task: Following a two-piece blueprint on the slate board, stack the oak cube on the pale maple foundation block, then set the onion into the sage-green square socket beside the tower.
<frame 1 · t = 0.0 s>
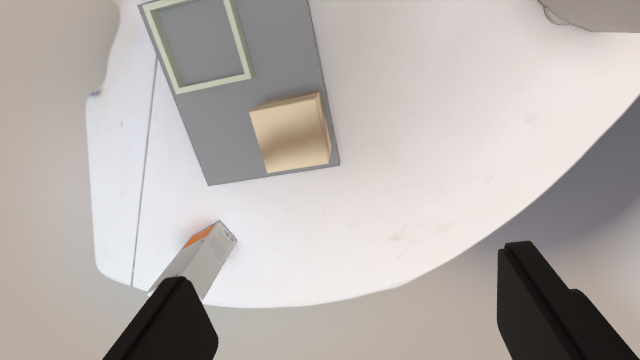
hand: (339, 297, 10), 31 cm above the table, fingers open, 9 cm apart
socket: (204, 42, 36), resting on board
skincare box: (214, 237, 49), on the table
board: (249, 89, 39), on the table
foundation: (297, 125, 39), resting on board
dispenser: (565, 1, 32), on the table
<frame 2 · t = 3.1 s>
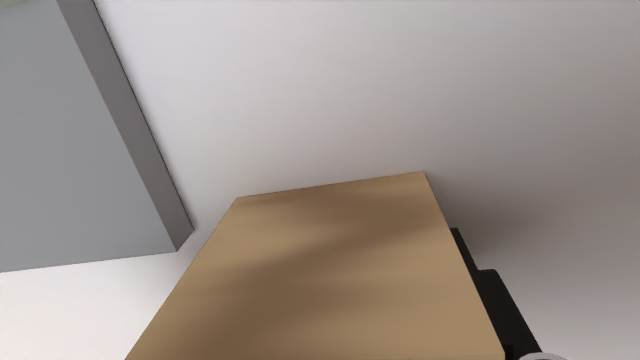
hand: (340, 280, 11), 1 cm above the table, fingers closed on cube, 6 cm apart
cube: (342, 260, 11), on the table, touching gripper
when the fingers open (8 cm above the table, at t = 7.5 s): cube drops 1 cm, resting on foundation.
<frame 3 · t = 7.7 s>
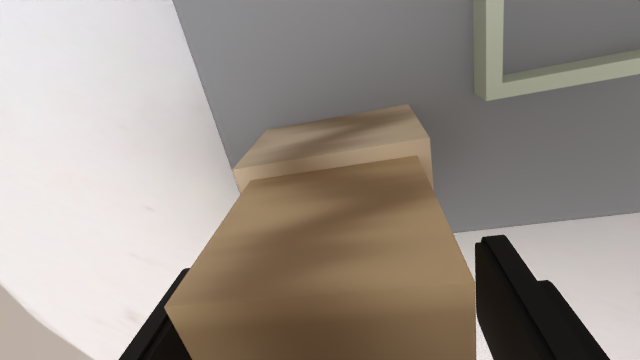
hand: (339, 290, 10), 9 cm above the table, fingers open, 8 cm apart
board: (434, 60, 15), on the table
foundation: (347, 181, 17), resting on board
cube: (344, 238, 13), point 6 cm above the table, touching foundation
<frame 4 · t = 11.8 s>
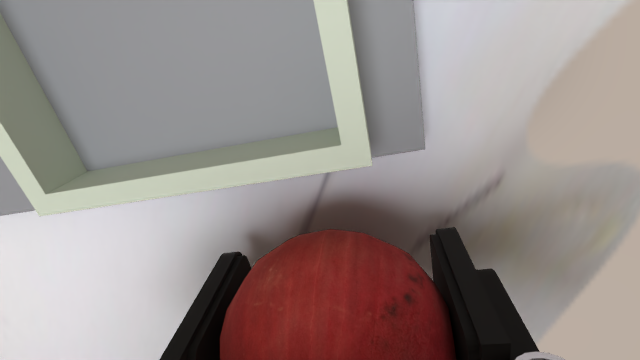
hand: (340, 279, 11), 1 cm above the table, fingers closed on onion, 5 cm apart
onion: (342, 249, 12), on the table, touching gripper
when the fingers open (4 cm above the table, at t = 16.2 s): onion drops 2 cm, resting on board.
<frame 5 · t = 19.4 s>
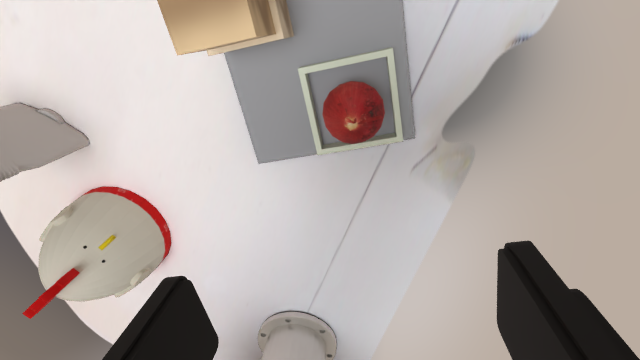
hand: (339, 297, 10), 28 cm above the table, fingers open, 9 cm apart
socket: (352, 102, 34), resting on board
board: (313, 48, 33), on the table
foundation: (250, 5, 31), resting on board
kitchen timer: (125, 228, 47), on the table
dispenser: (53, 124, 41), on the table
cube: (232, 3, 27), point 6 cm above the table, touching foundation
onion: (353, 103, 34), point 1 cm above the table, touching board
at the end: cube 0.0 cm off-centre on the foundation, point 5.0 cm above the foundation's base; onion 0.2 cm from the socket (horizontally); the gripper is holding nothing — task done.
